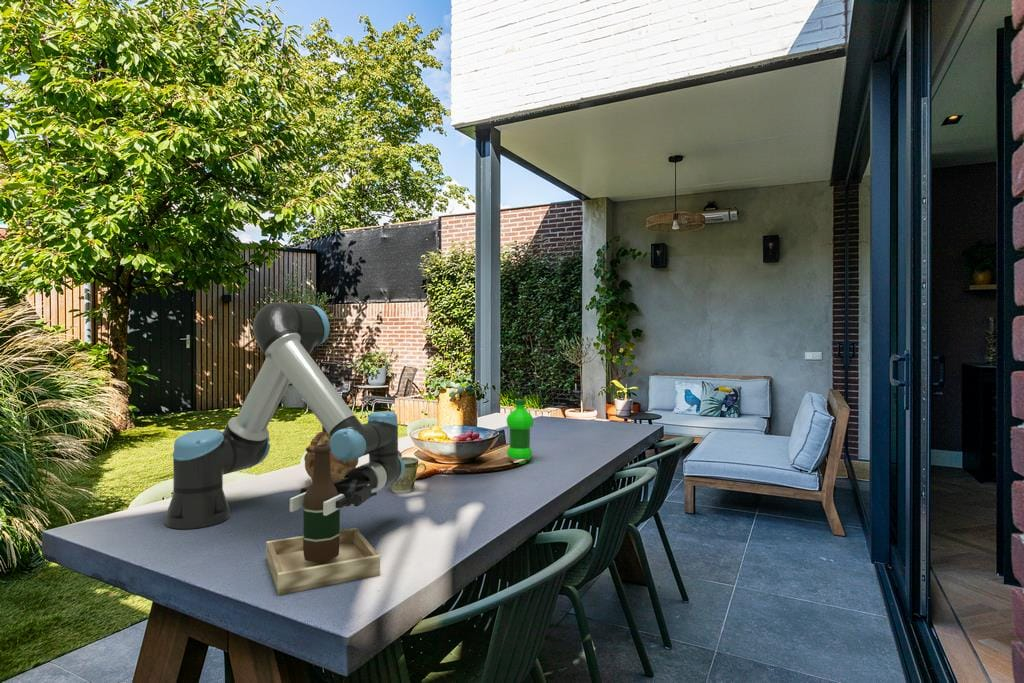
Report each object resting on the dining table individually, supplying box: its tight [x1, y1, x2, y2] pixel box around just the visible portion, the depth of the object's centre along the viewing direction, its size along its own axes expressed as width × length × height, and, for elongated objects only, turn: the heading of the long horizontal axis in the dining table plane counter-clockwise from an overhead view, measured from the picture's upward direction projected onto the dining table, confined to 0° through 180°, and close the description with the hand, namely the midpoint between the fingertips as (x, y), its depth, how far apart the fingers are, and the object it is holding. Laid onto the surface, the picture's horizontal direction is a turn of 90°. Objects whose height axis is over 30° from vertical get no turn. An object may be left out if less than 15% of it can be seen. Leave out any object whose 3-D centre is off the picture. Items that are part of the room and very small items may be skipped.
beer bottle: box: [302, 444, 341, 562], centre depth 124 cm, size 8×8×24 cm
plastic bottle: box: [506, 398, 534, 465], centre depth 227 cm, size 10×10×25 cm
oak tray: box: [265, 527, 381, 596], centre depth 124 cm, size 20×20×4 cm
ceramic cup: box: [390, 456, 427, 495], centre depth 184 cm, size 13×10×10 cm
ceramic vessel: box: [303, 424, 359, 482], centre depth 192 cm, size 17×26×25 cm, turn 170°
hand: (307, 507), depth 119 cm, fingers closed on beer bottle, 7 cm apart
